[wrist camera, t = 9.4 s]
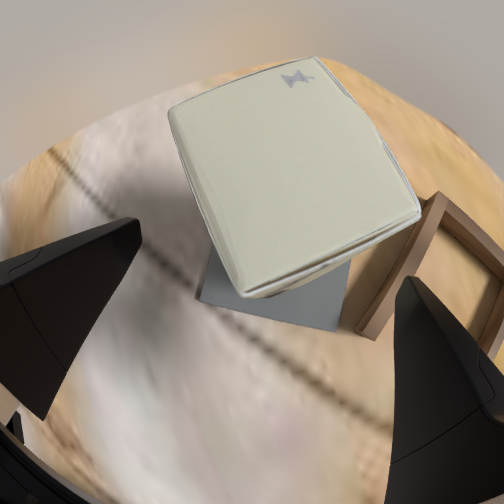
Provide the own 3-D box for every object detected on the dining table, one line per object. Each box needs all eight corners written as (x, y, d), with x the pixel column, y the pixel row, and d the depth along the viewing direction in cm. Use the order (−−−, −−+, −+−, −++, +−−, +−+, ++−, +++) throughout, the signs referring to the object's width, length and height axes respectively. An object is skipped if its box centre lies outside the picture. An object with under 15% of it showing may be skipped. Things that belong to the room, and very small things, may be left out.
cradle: (454, 399, 15) (467, 406, 13) (354, 329, 17) (362, 332, 15) (511, 279, 16) (525, 277, 14) (426, 200, 18) (438, 190, 16)
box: (238, 229, 19) (155, 101, 6) (298, 202, 18) (312, 44, 6) (270, 304, 17) (231, 308, 5) (333, 275, 17) (434, 211, 5)
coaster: (335, 331, 17) (336, 332, 17) (201, 301, 18) (199, 301, 18) (358, 200, 18) (359, 198, 18) (233, 176, 20) (232, 174, 19)
